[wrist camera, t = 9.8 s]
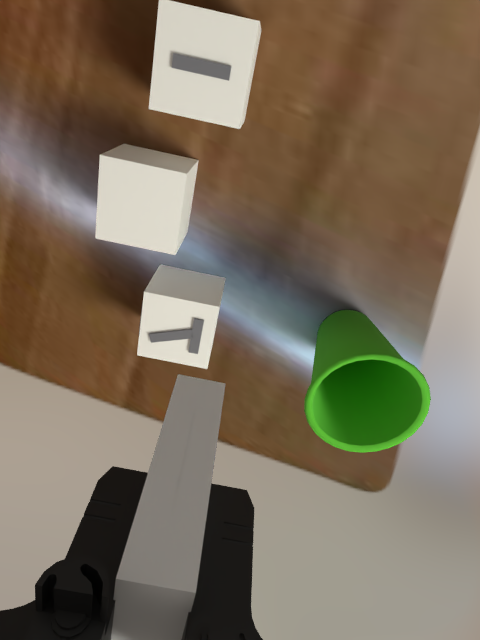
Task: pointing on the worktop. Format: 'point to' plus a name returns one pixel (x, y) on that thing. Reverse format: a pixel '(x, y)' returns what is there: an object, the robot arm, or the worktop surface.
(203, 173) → the worktop surface
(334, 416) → the cup
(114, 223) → the plain block
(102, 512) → the robot arm
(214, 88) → the digit block 1
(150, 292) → the letter t cube
